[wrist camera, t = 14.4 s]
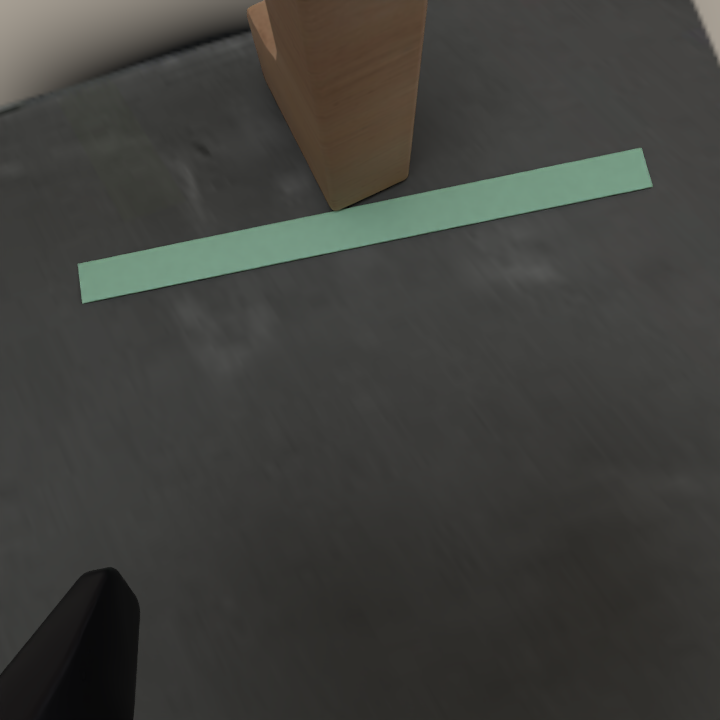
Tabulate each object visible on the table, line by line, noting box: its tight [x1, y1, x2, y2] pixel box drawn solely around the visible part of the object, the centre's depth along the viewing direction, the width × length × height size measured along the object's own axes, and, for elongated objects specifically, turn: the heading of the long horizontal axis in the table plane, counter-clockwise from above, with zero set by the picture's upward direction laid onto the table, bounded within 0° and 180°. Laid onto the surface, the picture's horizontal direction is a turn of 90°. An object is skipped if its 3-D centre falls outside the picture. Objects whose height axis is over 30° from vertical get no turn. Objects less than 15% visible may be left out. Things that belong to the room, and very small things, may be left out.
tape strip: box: [78, 148, 653, 304], centre depth 22 cm, size 22×2×1 cm, turn 101°
